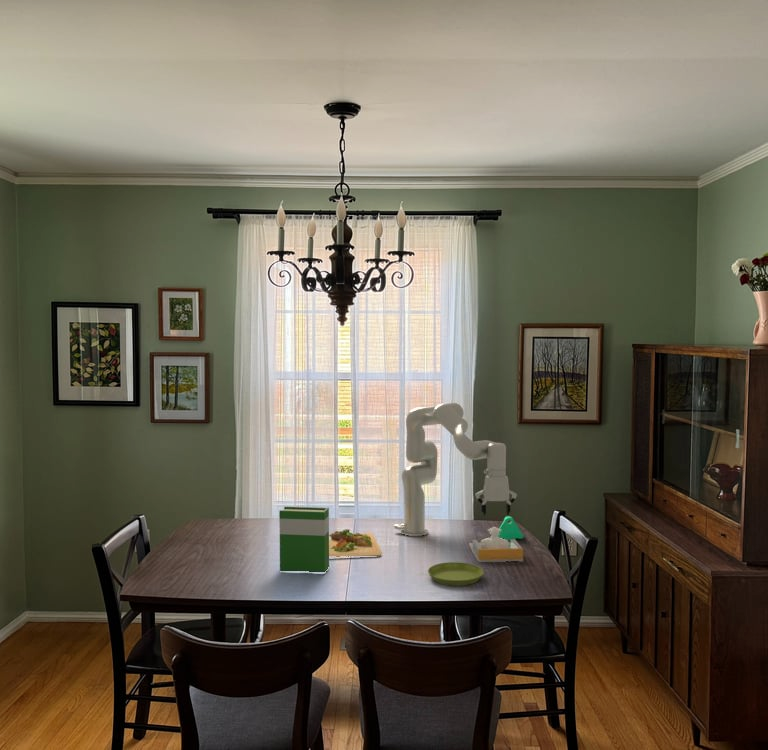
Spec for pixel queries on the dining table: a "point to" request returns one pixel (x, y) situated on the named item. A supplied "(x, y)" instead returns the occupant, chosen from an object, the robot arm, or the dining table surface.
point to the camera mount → (509, 529)
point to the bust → (494, 540)
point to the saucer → (455, 573)
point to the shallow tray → (497, 552)
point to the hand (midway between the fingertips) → (495, 513)
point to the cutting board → (353, 544)
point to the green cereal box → (304, 539)
